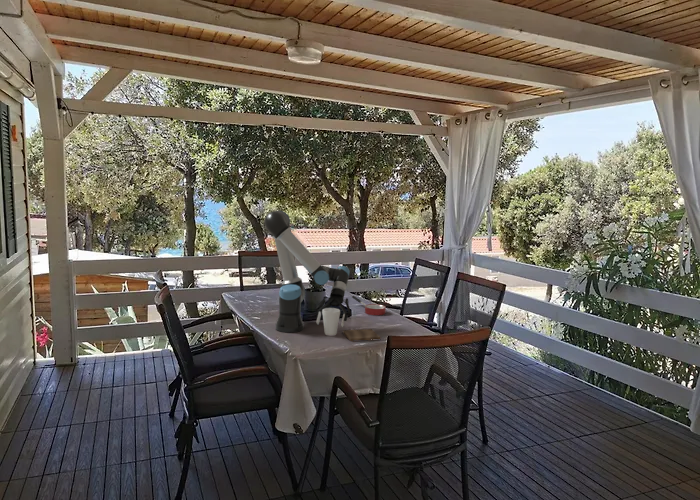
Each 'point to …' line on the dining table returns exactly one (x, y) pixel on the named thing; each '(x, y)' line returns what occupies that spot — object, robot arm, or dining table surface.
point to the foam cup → (330, 320)
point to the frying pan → (372, 308)
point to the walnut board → (361, 334)
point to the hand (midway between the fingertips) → (329, 324)
